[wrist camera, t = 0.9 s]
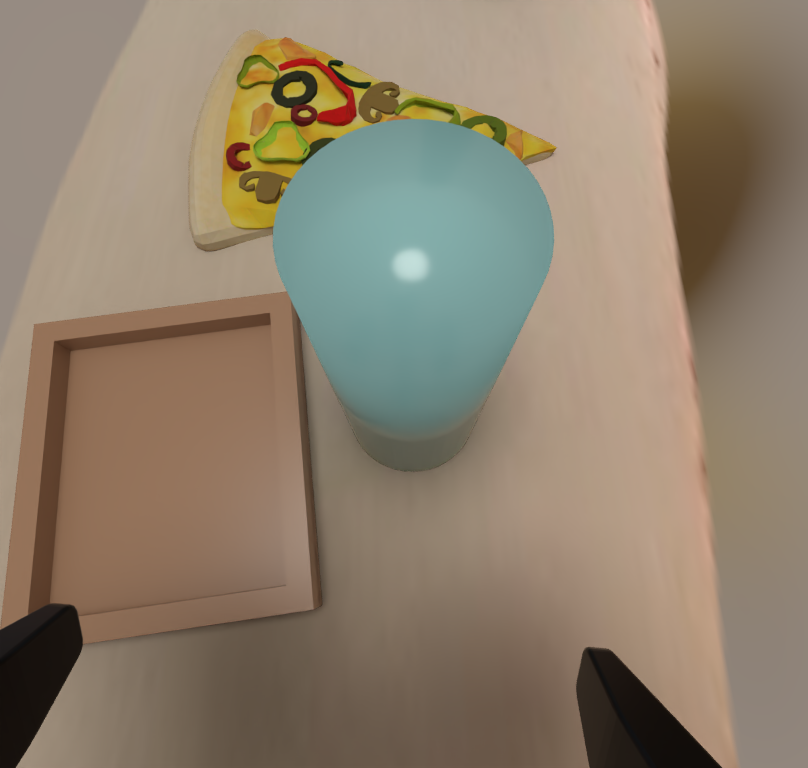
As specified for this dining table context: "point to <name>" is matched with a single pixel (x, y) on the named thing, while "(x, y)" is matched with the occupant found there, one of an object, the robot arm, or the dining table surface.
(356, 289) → the teal rounded cylinder
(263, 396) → the tray
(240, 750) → the dining table surface
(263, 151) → the pizza slice
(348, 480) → the dining table surface
